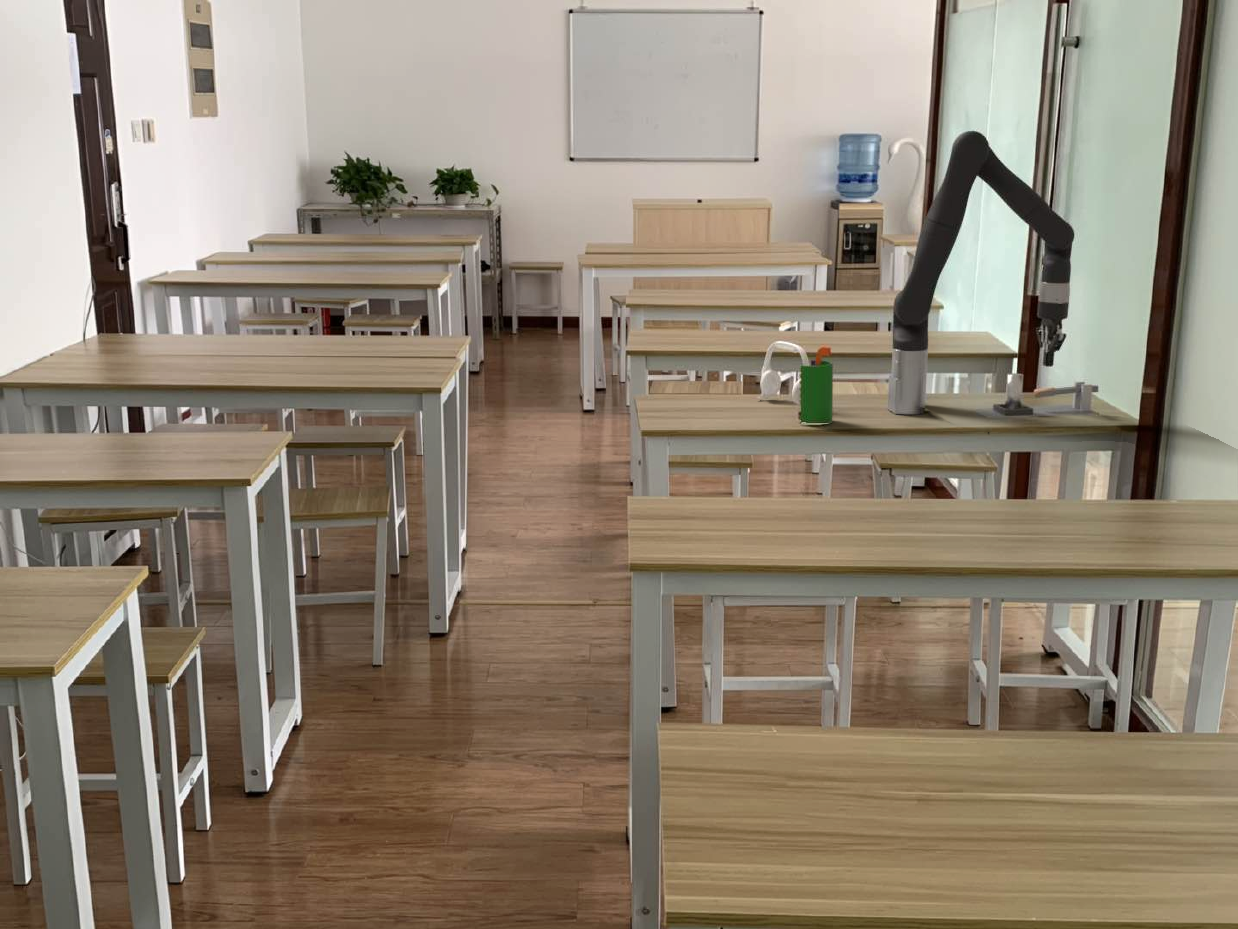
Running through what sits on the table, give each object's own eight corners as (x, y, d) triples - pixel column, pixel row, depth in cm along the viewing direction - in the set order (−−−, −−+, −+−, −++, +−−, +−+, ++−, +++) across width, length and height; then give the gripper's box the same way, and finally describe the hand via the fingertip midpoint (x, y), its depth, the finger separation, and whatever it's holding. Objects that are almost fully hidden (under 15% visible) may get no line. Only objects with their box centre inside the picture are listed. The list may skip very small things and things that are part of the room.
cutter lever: (1037, 398, 325) (1037, 390, 325) (1033, 396, 328) (1033, 388, 327) (1099, 392, 327) (1099, 384, 326) (1094, 390, 329) (1095, 382, 329)
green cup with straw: (798, 417, 332) (800, 343, 327) (832, 418, 330) (834, 343, 325) (797, 425, 322) (798, 349, 317) (832, 426, 320) (834, 349, 316)
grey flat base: (989, 423, 320) (990, 391, 318) (970, 414, 332) (972, 383, 330) (1099, 419, 324) (1101, 387, 322) (1077, 409, 335) (1079, 378, 333)
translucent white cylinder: (1008, 414, 325) (1011, 376, 322) (1002, 410, 328) (1004, 373, 326) (1023, 413, 325) (1025, 375, 323) (1016, 410, 329) (1019, 373, 326)
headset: (818, 410, 341) (819, 345, 337) (797, 412, 338) (798, 348, 333) (774, 398, 358) (775, 336, 354) (754, 400, 355) (755, 339, 350)
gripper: (1028, 296, 326) (1023, 362, 331) (1051, 303, 314) (1045, 370, 318) (1055, 296, 327) (1050, 361, 332) (1079, 302, 315) (1073, 370, 319)
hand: (1047, 365), depth 325 cm, fingers closed
